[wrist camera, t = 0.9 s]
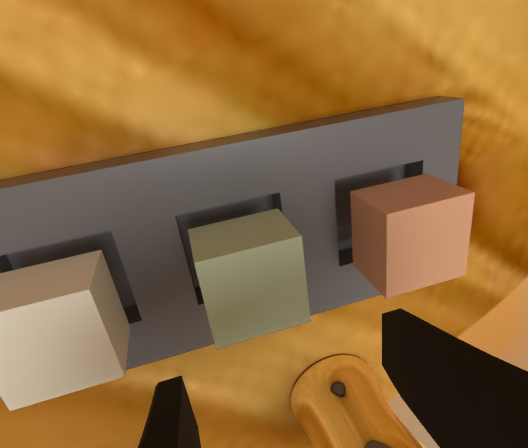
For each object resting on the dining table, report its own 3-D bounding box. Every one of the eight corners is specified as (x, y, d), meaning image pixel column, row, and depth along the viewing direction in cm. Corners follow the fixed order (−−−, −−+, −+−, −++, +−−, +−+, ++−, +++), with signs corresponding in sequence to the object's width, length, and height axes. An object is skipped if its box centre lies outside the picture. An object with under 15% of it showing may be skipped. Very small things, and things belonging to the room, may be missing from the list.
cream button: (130, 326, 16) (124, 376, 14) (34, 353, 16) (9, 411, 13) (101, 249, 15) (89, 289, 12) (-7, 275, 14) (-46, 323, 11)
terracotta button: (422, 246, 19) (465, 274, 17) (352, 265, 18) (386, 298, 16) (426, 173, 18) (475, 192, 15) (350, 191, 17) (386, 214, 14)
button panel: (429, 261, 23) (448, 274, 22) (20, 377, 19) (8, 405, 17) (440, 96, 19) (464, 98, 17) (-85, 196, 15) (-113, 211, 13)
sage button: (287, 283, 18) (310, 321, 15) (206, 305, 17) (216, 349, 14) (277, 208, 16) (301, 235, 13) (187, 229, 15) (194, 263, 13)
